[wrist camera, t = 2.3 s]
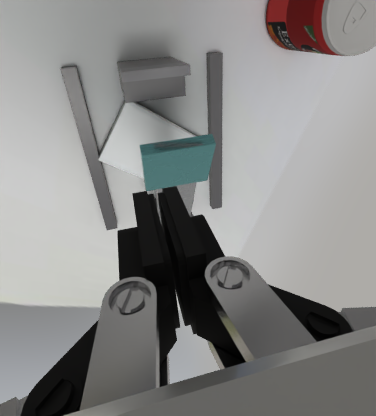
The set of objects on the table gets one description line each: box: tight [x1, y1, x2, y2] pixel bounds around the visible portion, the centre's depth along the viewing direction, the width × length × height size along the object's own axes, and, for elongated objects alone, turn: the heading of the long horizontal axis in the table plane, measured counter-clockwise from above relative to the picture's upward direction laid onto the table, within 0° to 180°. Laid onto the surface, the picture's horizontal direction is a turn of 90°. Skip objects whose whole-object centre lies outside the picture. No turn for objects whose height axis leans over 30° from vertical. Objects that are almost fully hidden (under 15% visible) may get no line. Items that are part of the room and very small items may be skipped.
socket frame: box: [61, 52, 223, 230], centre depth 33 cm, size 21×18×9 cm
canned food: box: [266, 0, 376, 56], centre depth 28 cm, size 8×8×11 cm
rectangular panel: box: [140, 134, 216, 224], centre depth 29 cm, size 18×6×1 cm, turn 4°
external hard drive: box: [98, 100, 196, 179], centre depth 36 cm, size 2×8×12 cm
